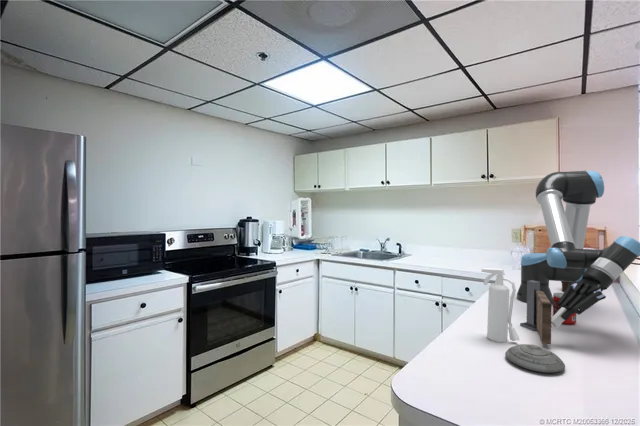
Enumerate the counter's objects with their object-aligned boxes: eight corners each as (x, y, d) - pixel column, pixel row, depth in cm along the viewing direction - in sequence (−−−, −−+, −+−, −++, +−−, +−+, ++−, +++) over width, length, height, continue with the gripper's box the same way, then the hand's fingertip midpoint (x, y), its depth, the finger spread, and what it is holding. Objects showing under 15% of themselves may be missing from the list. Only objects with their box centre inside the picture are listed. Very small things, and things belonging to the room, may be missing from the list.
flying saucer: (509, 348, 108) (510, 332, 108) (566, 362, 99) (566, 344, 99) (500, 365, 97) (500, 347, 97) (563, 383, 87) (563, 362, 87)
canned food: (573, 319, 134) (573, 293, 134) (578, 326, 127) (579, 298, 127) (550, 317, 138) (551, 291, 137) (555, 323, 130) (555, 296, 130)
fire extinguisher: (515, 347, 108) (516, 273, 108) (478, 337, 117) (479, 268, 117) (522, 342, 113) (523, 270, 112) (486, 332, 122) (486, 265, 121)
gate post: (520, 325, 128) (520, 280, 128) (531, 323, 130) (532, 279, 129) (534, 331, 122) (534, 283, 122) (546, 329, 124) (546, 282, 124)
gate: (535, 324, 125) (535, 290, 125) (542, 325, 124) (543, 290, 123) (542, 343, 108) (542, 303, 108) (550, 344, 107) (551, 304, 107)
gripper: (627, 286, 104) (576, 339, 104) (591, 277, 117) (546, 324, 117) (611, 270, 104) (560, 323, 103) (577, 263, 117) (532, 310, 116)
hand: (553, 324), depth 110 cm, fingers closed
